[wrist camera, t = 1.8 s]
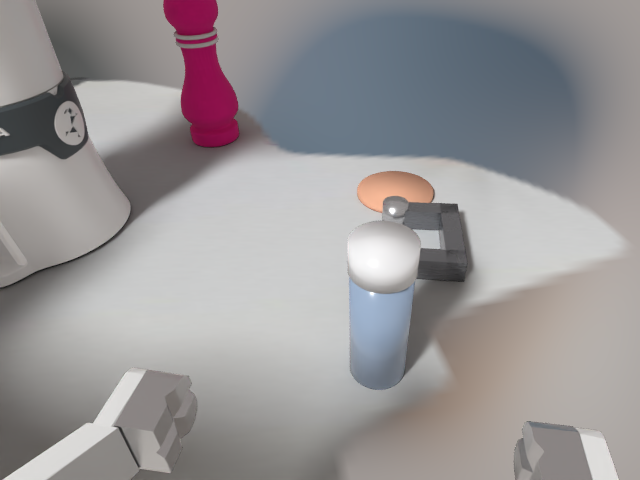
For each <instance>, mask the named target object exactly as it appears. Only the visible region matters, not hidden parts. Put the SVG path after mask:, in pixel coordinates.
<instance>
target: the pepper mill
mask: <svg viewBox="0 0 640 480" xmlns="http://www.w3.org/2000/svg"><path fill="white" fill-rule="evenodd" d="M163 7H164V13H165V17H166V19H167V20H168V22H169V23H170V24H171V25H172V26H173V27H174V28H175V29H176V32H175V33H174V36H175V38H176V45H177V46H179V47H181V50H182V53H183V57H184V62H185V80H184V85H183V89H182V94H181V108H182V113H183V115H184V117H185V118H186V119H187V120H188V121H189V122H190V123H192V125H191V127H190V131H191V136H192V140H193V142H194V143H195V144H197V145H199V146H203V147H218V146H223V145H226V144H229V143H231V142H233V141H234V140H236V139H237V138H238V136H239V129H238V123H237V121H236V120H235V119H234V116H235V115H236V113H237V111H238V101H237V97H236V94H235V92H234V90H233V88H232V86H231V85H230V83H229V81H228V80H227V79H226V77H225V76H224V74H223V72H222V70H221V68H220V65H219V63H218V58H217V54H216V43H217V42H218V36H217V34H216V33H217V29H216V28H215V27H213V25H214V22H215V20H216V18H217V16H218V6H217V3H216V0H164V4H163Z"/></svg>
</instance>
